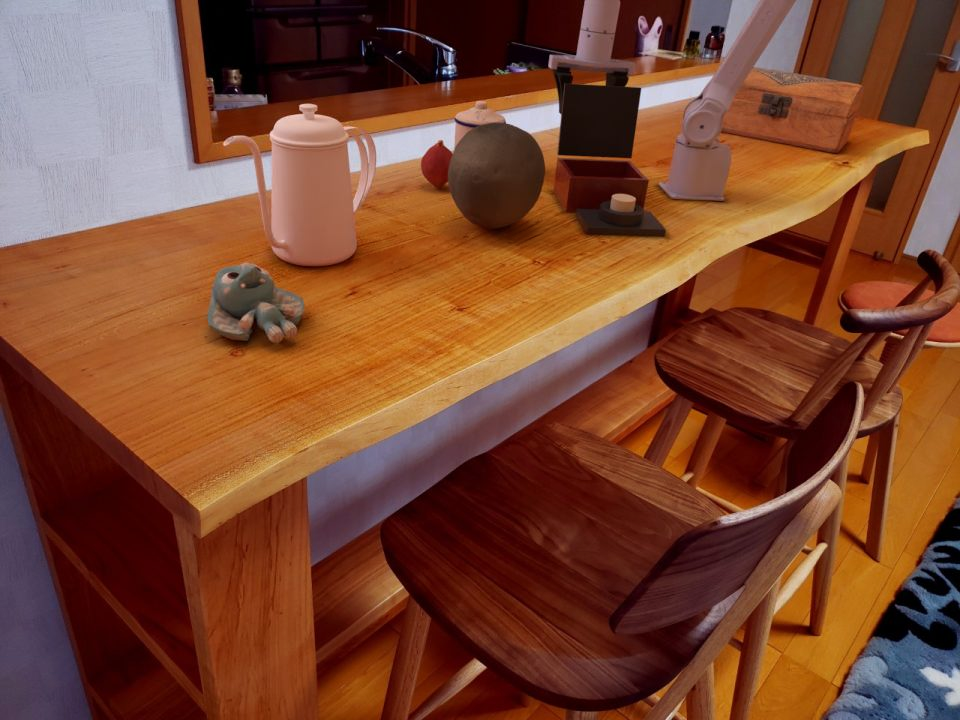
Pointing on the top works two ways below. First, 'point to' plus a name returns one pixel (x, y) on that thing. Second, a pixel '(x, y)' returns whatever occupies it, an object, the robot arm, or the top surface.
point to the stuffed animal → (252, 304)
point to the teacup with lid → (474, 119)
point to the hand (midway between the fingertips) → (583, 115)
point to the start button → (623, 203)
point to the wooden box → (794, 109)
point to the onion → (436, 164)
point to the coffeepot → (312, 187)
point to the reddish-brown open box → (596, 182)
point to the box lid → (598, 120)
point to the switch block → (619, 222)
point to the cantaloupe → (496, 174)
